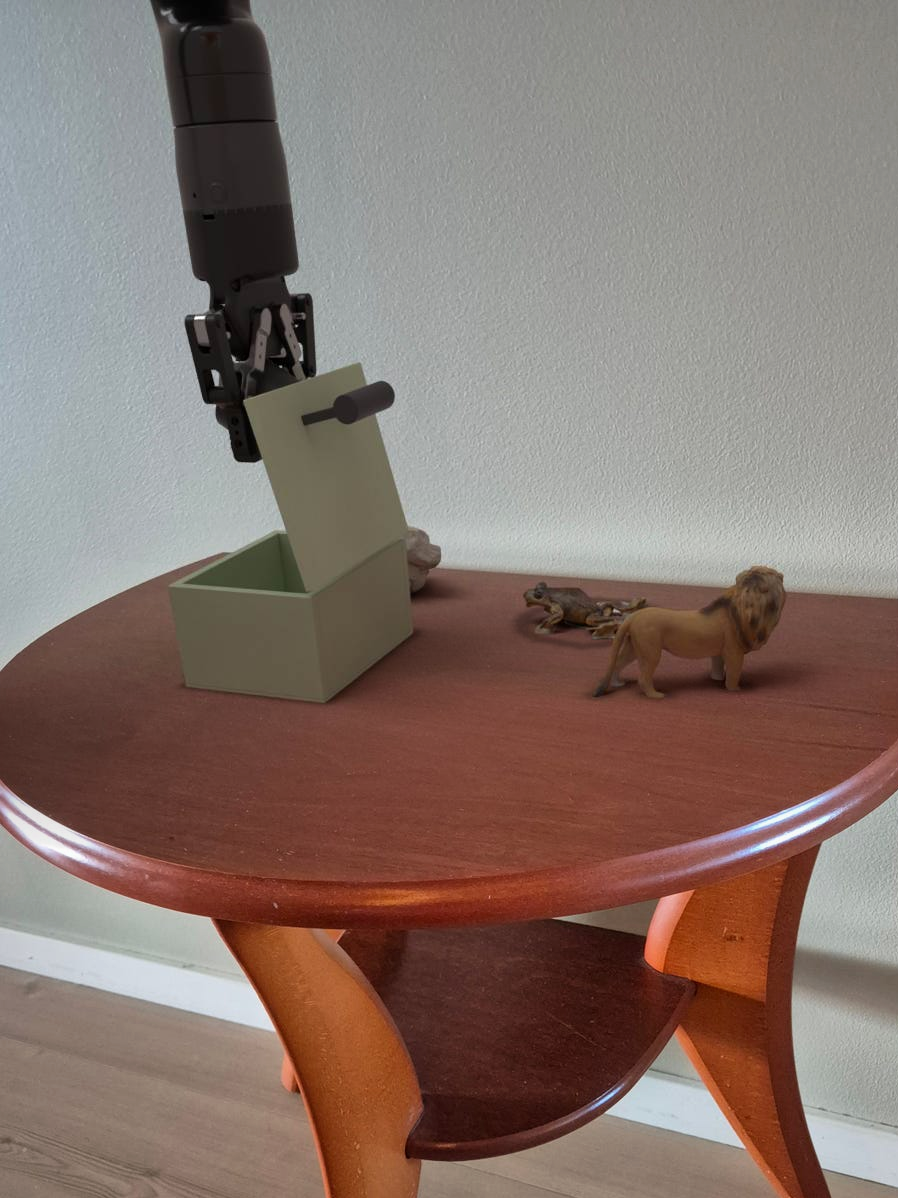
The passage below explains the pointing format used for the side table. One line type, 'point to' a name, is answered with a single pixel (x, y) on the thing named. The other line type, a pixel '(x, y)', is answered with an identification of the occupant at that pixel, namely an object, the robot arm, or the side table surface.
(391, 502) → the lid
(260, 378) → the dark solid cylinder
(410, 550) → the fossil replica
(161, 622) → the side table surface
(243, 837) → the side table surface
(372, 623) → the chest
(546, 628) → the frog figurine
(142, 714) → the side table surface
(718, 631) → the lion figurine
